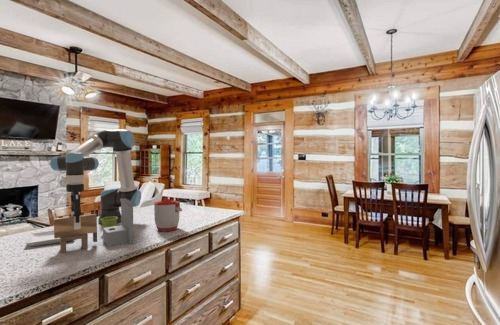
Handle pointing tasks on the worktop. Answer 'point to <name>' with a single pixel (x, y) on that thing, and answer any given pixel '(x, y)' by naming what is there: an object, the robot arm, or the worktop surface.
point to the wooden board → (66, 226)
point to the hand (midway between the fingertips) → (76, 226)
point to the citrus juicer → (167, 214)
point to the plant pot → (109, 221)
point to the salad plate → (42, 238)
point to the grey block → (121, 226)
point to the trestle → (83, 239)
